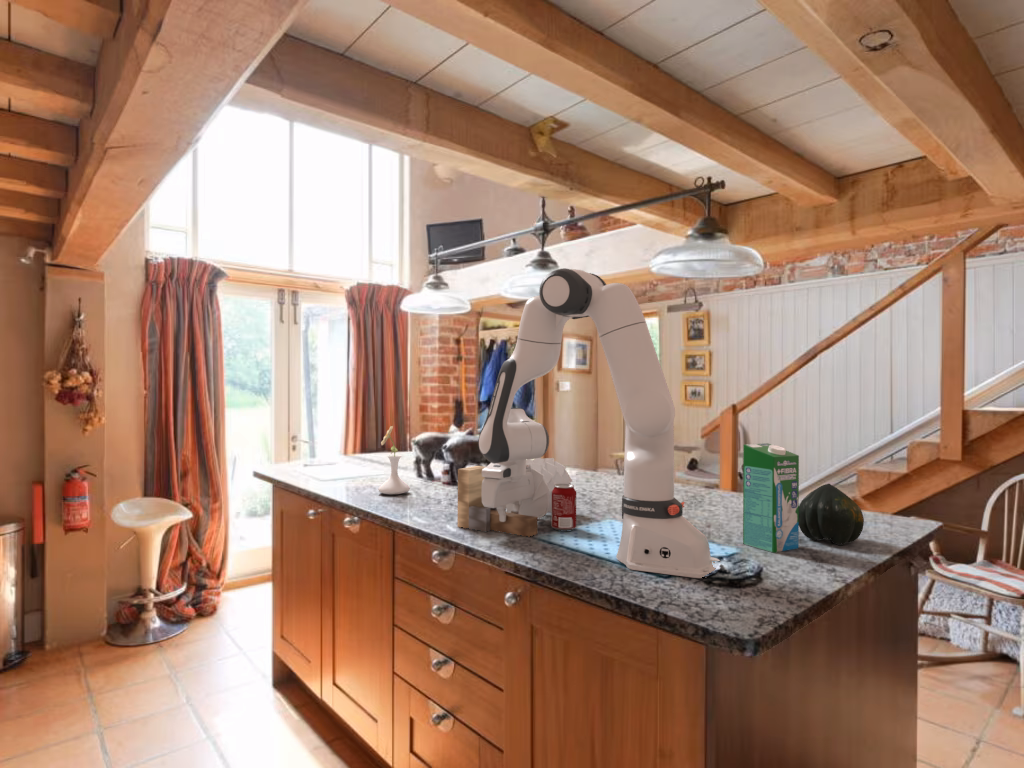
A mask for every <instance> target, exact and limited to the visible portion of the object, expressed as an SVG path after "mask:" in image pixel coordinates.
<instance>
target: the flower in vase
mask: <svg viewBox="0 0 1024 768" xmlns="http://www.w3.org/2000/svg"><path fill="white" fill-rule="evenodd" d="M393 428H394V426H393V425H392V426H391V425H390V427H389V429H387V431H386V434H385V435H384V436H383V440H381V442H380V444H381V446H384V445H385V444H386V442H387V441H388V439H390V440H391V443H392V446H391V448H390V450H391V452H390V455H387V458H388V459H389V462H390V466H391V467H390V468H391V469H390V470H391V471H390V476H389V477H388V478H387V479H386V480H385V481H384V482H383V483H382V484H381V485H379V486H378V488H377V489H378V492H379V493H381V494H384V495H393V496H394V495H402V494H405V493H406V494H407V493H408V492H409V491H411V487H410V486H409V484H408V483H406V482H405V481H404V480H403V479H402V478H401V477H400V476H399V473H398V466H399V463H400V462H399V461H400V459H401V458H402V454H400V455H399V454H396V453H397V452H398V451H399V450H398V448H396V446H395V443H394V440H393V438H392V437H391V433H392V431H393Z"/></svg>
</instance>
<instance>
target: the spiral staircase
mask: <svg viewBox="0 0 1024 768" xmlns="http://www.w3.org/2000/svg"><path fill="white" fill-rule="evenodd" d="M526 465H529V467H530V468H528V469H530V472H531V473H532V474H533V477H534V488H535V493H534V496H533V498H529V499H526V500H522V506H521V509H520V511H519V514H521V515H528V516H534V517H538V520H540V519H541V518H543V517H544V516H545V515H547V514H548V513H550V514H552V490H553V489H554V485H555V484H571V483H572V482H573V479H572V478H571V476H570V475H569V473H568V472H567V470H566V469H567V466H565V465H563V464H562V463H560V462H558V461H557V460H555V458H554V457H546V458H542V457H539V458H536V459H526ZM513 507H514V504H513V503H511V504H507V505H506V512H508V513H511V511H513Z"/></svg>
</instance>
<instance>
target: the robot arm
mask: <svg viewBox="0 0 1024 768" xmlns="http://www.w3.org/2000/svg"><path fill="white" fill-rule="evenodd" d="M538 291H539V292H538V294H539V295H534V296H533V297H530V298H529V299H528V300H526V302H525V304H524V308H523V310H522V313H521V317H520V321H519V326H518V332H517V338H516V339H517V340H516V345H515V348H514V349H513V352H512V354H511V355H510V357H509V358H508V359H507V360H504V361H503V363H502V365H501V367H500V370H499V373H498V375H497V379H496V382H495V384H494V385H495V387H494V390H493V393H492V397H491V400H490V405H489V407H488V412H487V416H486V419H485V421H484V424H483V426H482V428H481V431H480V432H479V436H478V449H479V453H480V454H481V455H482V456H483V458H484V459H486V460H487V461H488V462H490V463H489V464H487V466H485V468H484V469H482V477H486V478H484V479H483V482H482V504H483V506H484V507H488V508H496V507H497V511H498V513H499V520H500V521H501V522H505V521H507V520H508V514H506V512H505V509H506V510H507V508H506V505H507V504H511V503H513V504H514V507H513V511H511V513H515V514H519V511H520V509H521V506H522V500H526V499H529V498H533V496H534V493H535V488H534V477H533V474H532V473H531V472H530V469H528V468H530V467H529V465H526V460H527V459H531V460H534V459H536V458H539V457H541V458H542V457H543V456H545V454H547V451H548V449H549V445H550V435H549V431H548V429H547V428H546V427H545V426H544V425H543V424H542V423H541V422H537V421H535V420H533V419H531V418H530V417H528V415H527V414H526V411H525V410H524V409H523V408H520V407H512V406H513V403H514V399H515V396H516V394H517V392H518V391H519V390H520V388H521V387H523V386H524V385H526V384H528V383H530V382H531V381H533V380H535V379H538V378H542V377H543V376H545V375H547V374H549V373H550V372H551V371H552V370H553V369H554V368H555V367H556V366H557V365H558V362H559V359H560V356H561V348H562V342H563V341H562V340H563V332H564V328H565V325H566V323H567V322H568V321H569V320H570V319H572V320H577V319H582V318H583V319H584V318H588V317H589V318H591V320H592V321H593V323H594V325H595V328H596V331H597V334H598V338H599V341H600V343H601V346H602V350H603V352H604V353H603V354H604V356H605V359H606V361H607V365H608V368H609V372H610V376H611V380H612V382H613V386H614V390H615V393H616V397H617V400H618V404H619V407H620V410H621V411H620V412H621V414H622V418H623V421H624V423H625V433H624V434H625V436H624V439H625V440H624V457H623V460H624V461H623V473H624V474H623V495H622V496H621V518H622V529H621V536H620V541H619V546H618V551H617V553H616V556H615V557H616V560H617V561H618V562H621V563H622V564H624V565H625V567H626V568H627V569H629V570H634V571H639V572H648V573H654V574H664V575H671V576H677V577H679V576H680V577H686V578H694V579H703V578H702V577H704V576H705V575H707V574H709V573H711V572H712V571H714V570H715V569H716V568H714V567H713V565H712V561H720V562H721V560H720V559H718V558H716V557H713V556H711V549H710V543H709V540H708V537H707V536H706V534H704V533H703V532H702V531H700V530H699V529H698V528H697V527H696V526H695V525H693V524H692V523H691V522H690V521H689V520H688V519H686V518H685V517H684V516H683V510H684V509H683V508H685V501H683V502H680V501H679V500H678V499H677V498H675V443H674V442H675V439H674V438H675V433H674V432H675V431H674V428H675V426H674V422H675V417H676V409H675V408H676V407H675V404H674V402H673V398H672V396H671V391H670V390H669V386H668V383H667V380H666V377H665V375H664V372H663V369H662V367H661V363H660V360H659V357H658V354H657V352H656V348H655V346H654V342H653V339H652V336H651V333H650V331H649V327H648V324H647V321H646V319H645V316H644V314H643V311H642V309H641V306H640V304H639V302H638V300H637V298H636V296H635V294H634V292H633V291H632V290H631V288H630V287H629V286H628V285H627V284H625V283H622V282H621V283H619V282H612V283H608V284H607V283H606V282H605V280H604V279H603V278H601V277H600V276H599V275H597V274H595V273H591V272H590V273H589V272H587V271H584V270H581V269H573V268H571V269H570V268H558V269H555V270H552V271H551V272H549V273H548V274H546V275H545V276H544V278H542V281H541V283H540V285H539V290H538ZM713 563H715V562H713Z"/></svg>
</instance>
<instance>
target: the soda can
mask: <svg viewBox="0 0 1024 768" xmlns="http://www.w3.org/2000/svg"><path fill="white" fill-rule="evenodd" d="M551 528H553V529H554V530H556V531H558V530H560V531H559V532H568V531H567V530H571V531H573V530H574V529H576V528H577V491H576V489H575V485H574V484H555V485H554V489H553V490H552V513H551Z"/></svg>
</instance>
